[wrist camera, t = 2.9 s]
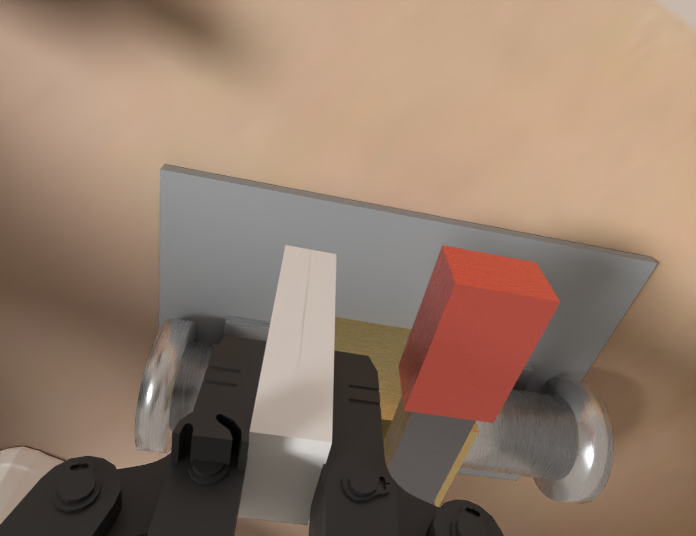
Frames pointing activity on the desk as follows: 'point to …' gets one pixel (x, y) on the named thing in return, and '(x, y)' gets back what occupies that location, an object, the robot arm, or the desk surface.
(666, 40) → the desk surface
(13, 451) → the jar
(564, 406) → the valve
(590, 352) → the mat
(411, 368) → the lever
